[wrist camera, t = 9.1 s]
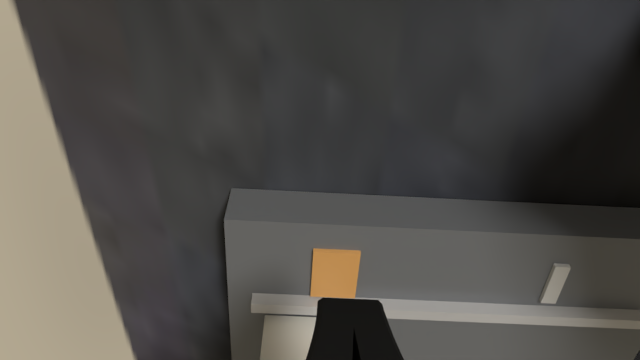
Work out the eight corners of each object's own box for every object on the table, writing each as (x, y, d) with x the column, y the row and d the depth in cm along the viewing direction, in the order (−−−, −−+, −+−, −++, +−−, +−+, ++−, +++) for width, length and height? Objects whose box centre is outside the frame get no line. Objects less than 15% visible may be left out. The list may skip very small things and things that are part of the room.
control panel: (675, 209, 22) (713, 253, 20) (567, 411, 30) (586, 457, 28) (231, 188, 22) (221, 229, 19) (240, 398, 30) (234, 444, 27)
